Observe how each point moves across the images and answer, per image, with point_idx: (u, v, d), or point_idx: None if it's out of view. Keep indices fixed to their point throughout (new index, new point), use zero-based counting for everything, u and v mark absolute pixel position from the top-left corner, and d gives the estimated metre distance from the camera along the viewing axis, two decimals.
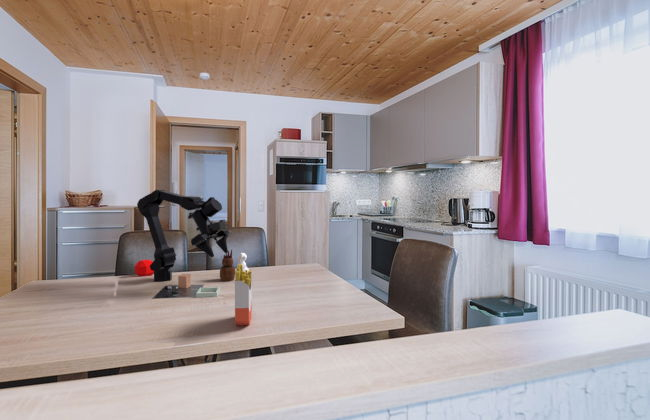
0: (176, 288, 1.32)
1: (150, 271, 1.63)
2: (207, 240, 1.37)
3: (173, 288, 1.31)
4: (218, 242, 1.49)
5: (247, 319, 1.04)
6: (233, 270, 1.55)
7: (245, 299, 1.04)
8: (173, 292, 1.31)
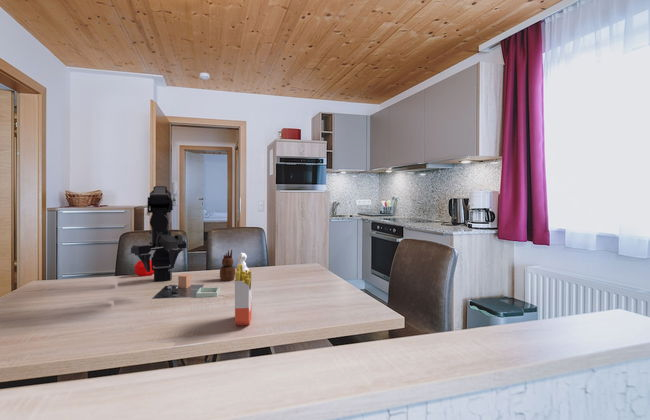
0: (176, 288, 1.32)
1: (150, 271, 1.63)
2: (147, 255, 1.19)
3: (173, 288, 1.31)
4: (170, 251, 1.31)
5: (247, 319, 1.04)
6: (233, 270, 1.55)
7: (245, 299, 1.04)
8: (173, 292, 1.31)
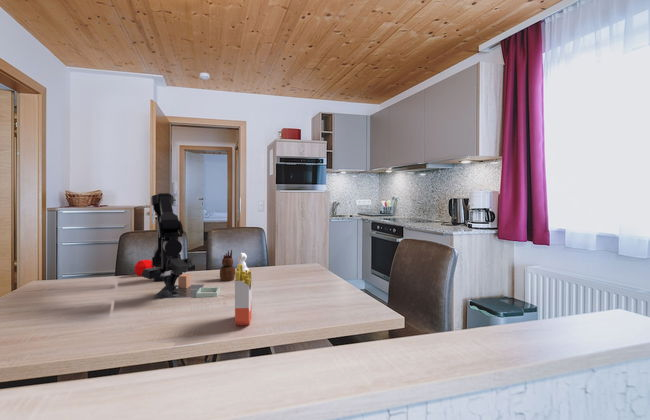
0: (176, 288, 1.32)
1: None
2: (169, 277, 1.27)
3: (173, 288, 1.31)
4: None
5: (247, 319, 1.04)
6: (233, 270, 1.55)
7: (245, 299, 1.04)
8: (173, 292, 1.31)
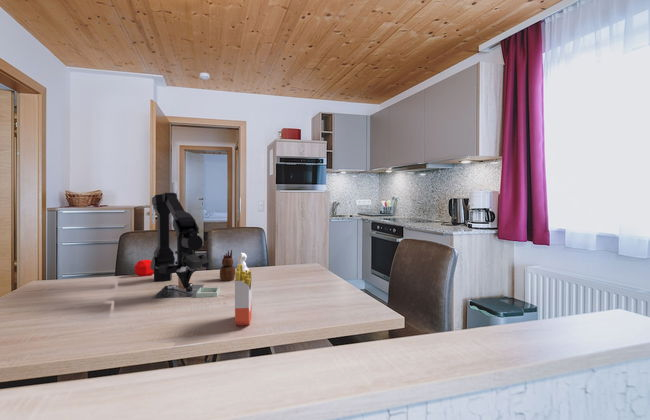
0: (191, 285, 1.36)
1: (150, 271, 1.63)
2: (184, 273, 1.31)
3: (189, 285, 1.35)
4: None
5: (247, 319, 1.04)
6: (233, 270, 1.55)
7: (245, 299, 1.04)
8: (189, 289, 1.35)
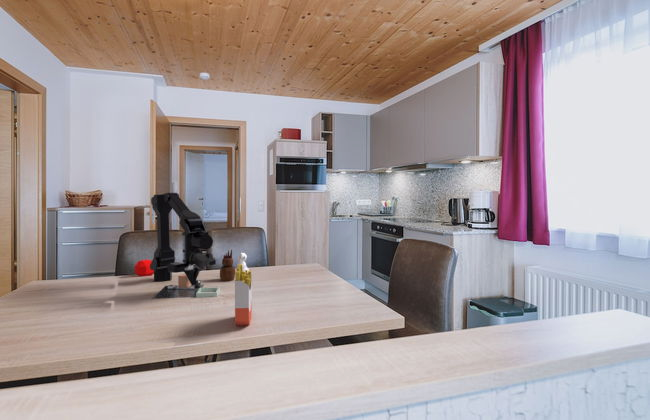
0: (200, 283, 1.41)
1: (150, 271, 1.63)
2: (192, 271, 1.35)
3: (198, 282, 1.40)
4: None
5: (247, 319, 1.04)
6: (233, 270, 1.55)
7: (245, 299, 1.04)
8: (198, 286, 1.40)
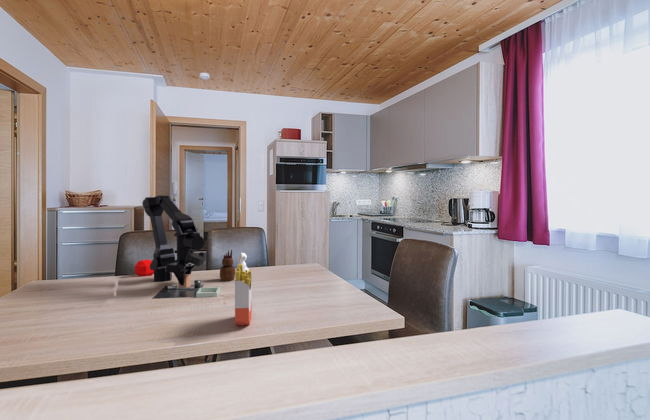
0: (200, 282, 1.41)
1: (150, 271, 1.63)
2: (185, 271, 1.40)
3: (198, 282, 1.40)
4: None
5: (247, 319, 1.04)
6: (233, 270, 1.55)
7: (245, 299, 1.04)
8: (198, 286, 1.40)
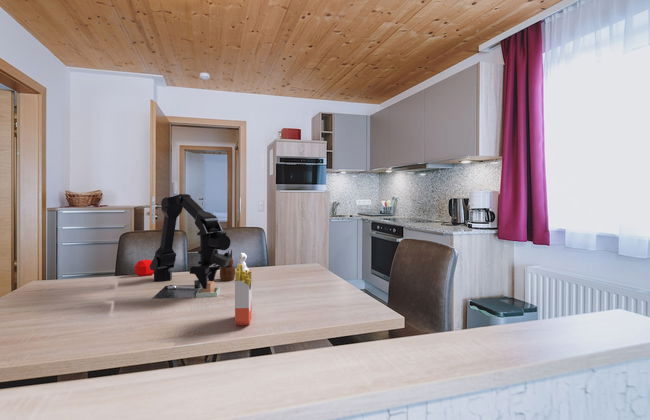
0: None
1: (150, 271, 1.63)
2: (209, 273, 1.30)
3: (198, 282, 1.40)
4: None
5: (247, 319, 1.04)
6: (233, 270, 1.55)
7: (245, 299, 1.04)
8: (198, 286, 1.40)
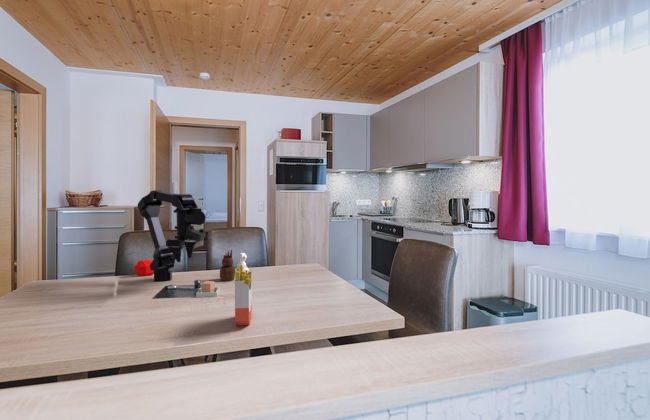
0: (200, 282, 1.41)
1: (150, 271, 1.63)
2: (182, 247, 1.39)
3: (198, 282, 1.40)
4: (186, 244, 1.51)
5: (247, 319, 1.04)
6: (233, 270, 1.55)
7: (245, 299, 1.04)
8: (198, 286, 1.40)
